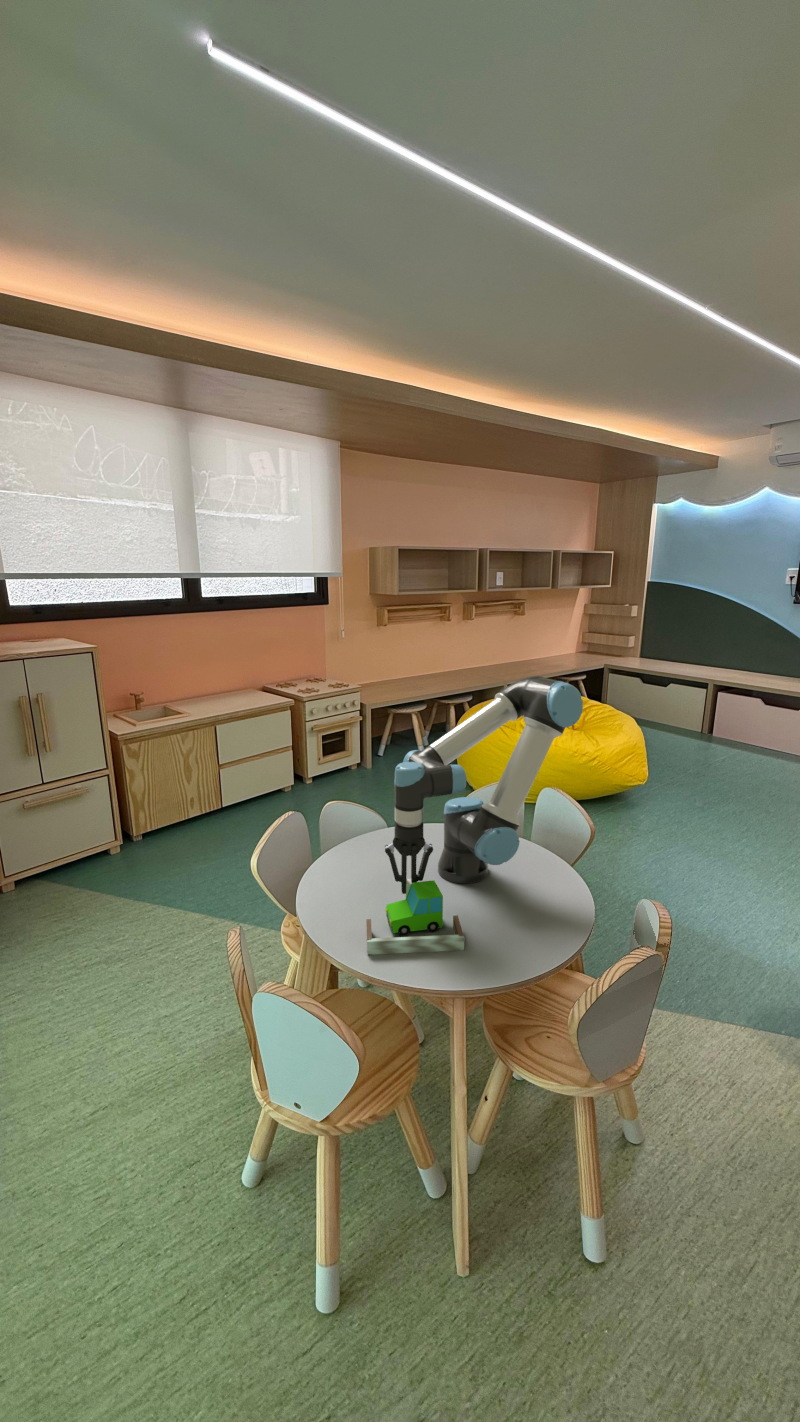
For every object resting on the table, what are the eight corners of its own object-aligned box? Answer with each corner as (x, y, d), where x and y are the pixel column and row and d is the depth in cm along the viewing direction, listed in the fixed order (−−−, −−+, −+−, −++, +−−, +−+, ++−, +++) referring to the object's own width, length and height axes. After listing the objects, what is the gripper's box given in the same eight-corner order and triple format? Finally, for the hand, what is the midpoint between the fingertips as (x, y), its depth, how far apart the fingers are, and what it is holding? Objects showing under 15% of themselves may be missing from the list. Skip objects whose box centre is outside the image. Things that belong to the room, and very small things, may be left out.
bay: (457, 927, 156) (457, 915, 156) (463, 950, 147) (464, 937, 146) (366, 931, 155) (366, 919, 154) (367, 954, 146) (366, 941, 145)
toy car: (384, 918, 161) (384, 883, 159) (433, 912, 164) (433, 878, 161) (392, 940, 151) (391, 904, 149) (443, 933, 154) (443, 898, 152)
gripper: (432, 815, 162) (431, 895, 167) (383, 816, 161) (383, 897, 166) (435, 826, 154) (434, 910, 160) (384, 828, 154) (384, 912, 159)
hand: (408, 903), depth 163 cm, fingers closed
